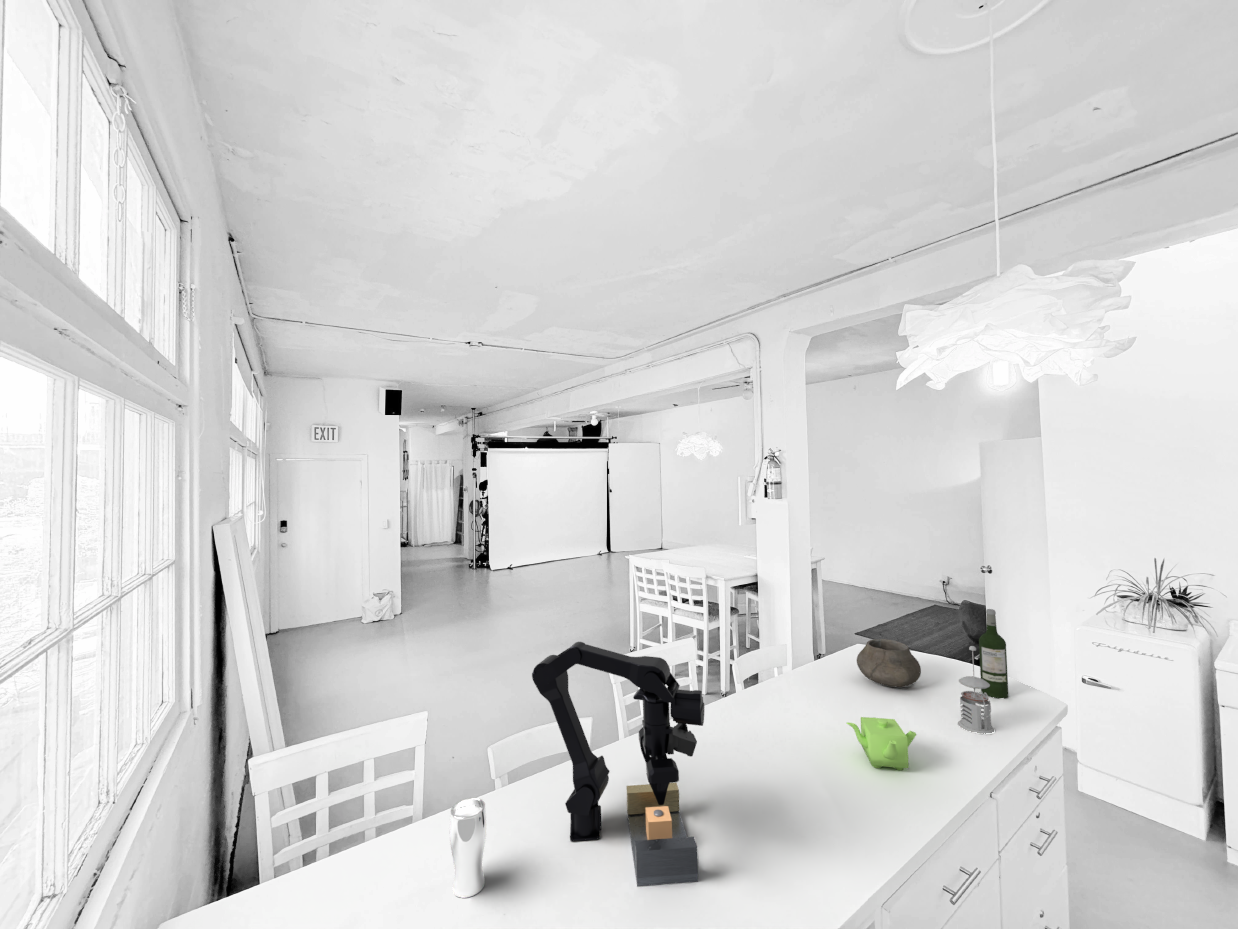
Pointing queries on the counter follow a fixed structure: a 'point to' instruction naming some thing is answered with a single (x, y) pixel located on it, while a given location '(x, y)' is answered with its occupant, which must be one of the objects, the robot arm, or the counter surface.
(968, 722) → the french press
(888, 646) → the clay pot
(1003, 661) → the wine bottle
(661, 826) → the block
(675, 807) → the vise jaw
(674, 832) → the vise bed
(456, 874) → the beer glass
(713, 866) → the counter surface
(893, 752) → the kettle
